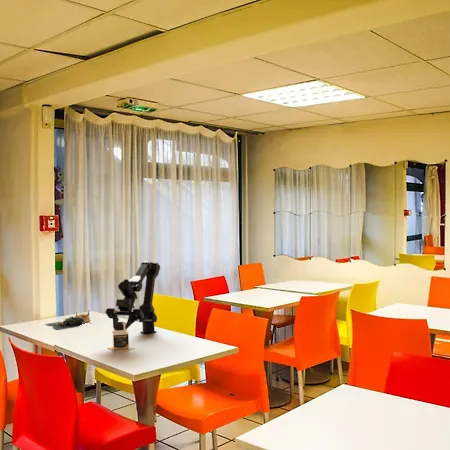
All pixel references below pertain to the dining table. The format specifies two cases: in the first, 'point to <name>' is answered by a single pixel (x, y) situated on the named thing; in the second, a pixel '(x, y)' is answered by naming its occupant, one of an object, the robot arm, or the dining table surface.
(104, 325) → the dining table surface
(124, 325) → the medicine bottle
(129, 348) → the envelope
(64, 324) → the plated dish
